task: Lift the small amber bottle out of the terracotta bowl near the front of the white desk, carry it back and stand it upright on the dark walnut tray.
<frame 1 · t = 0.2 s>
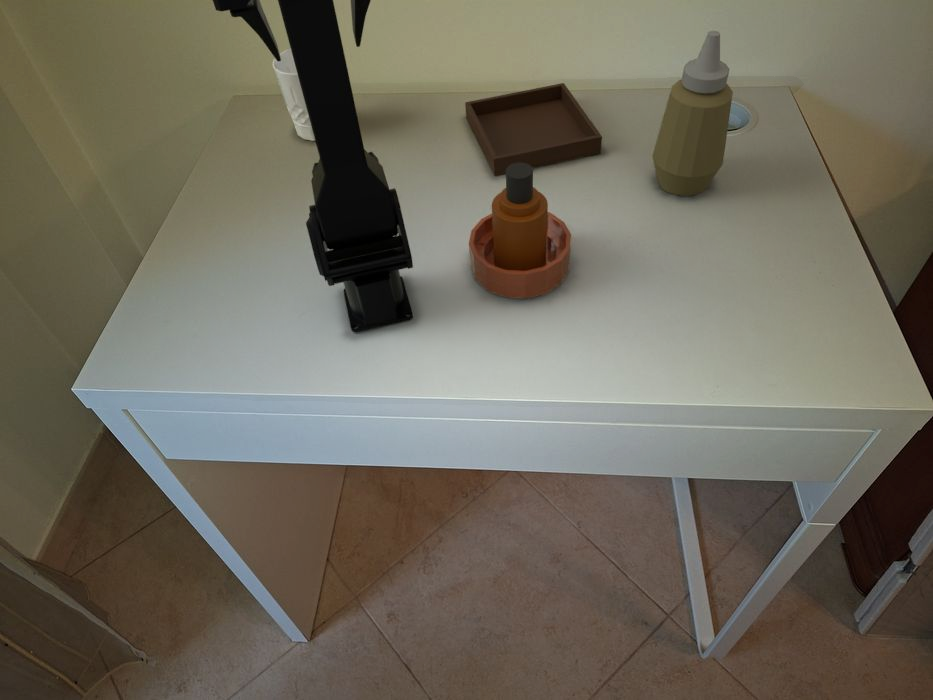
hand: (318, 52, 78), 15 cm above the table, tool pointing down, fingers open, 9 cm apart
squeeze bottle: (681, 183, 82), on the table
white cup: (321, 129, 95), on the table
bottle: (520, 263, 74), resting on bowl
tray: (530, 135, 90), on the table
bowl: (520, 266, 74), on the table
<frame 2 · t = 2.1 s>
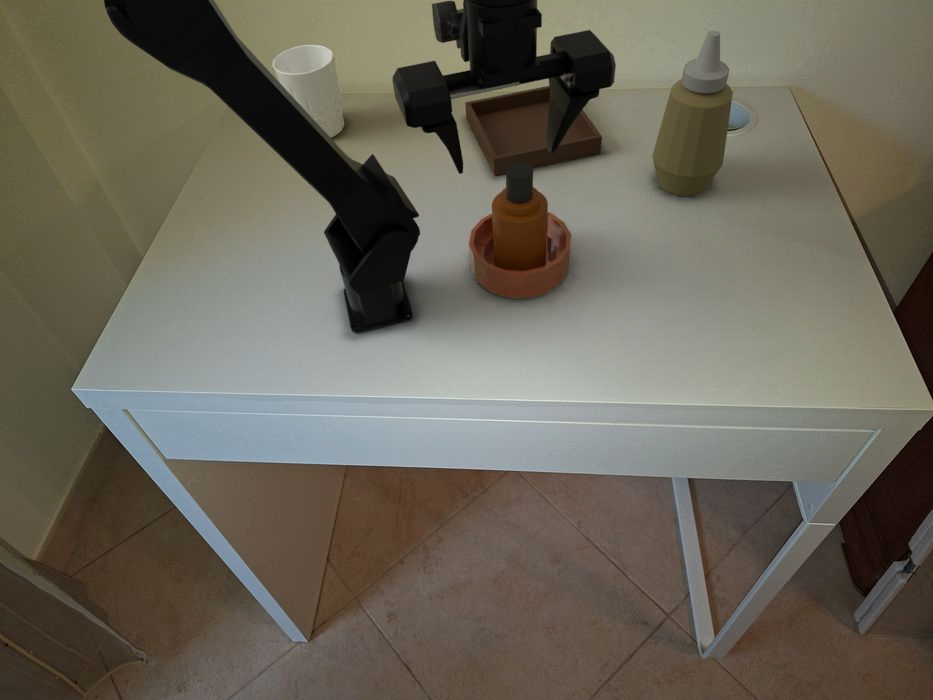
hand: (505, 161, 65), 13 cm above the table, tool pointing down, fingers open, 9 cm apart
nothing on the table moved.
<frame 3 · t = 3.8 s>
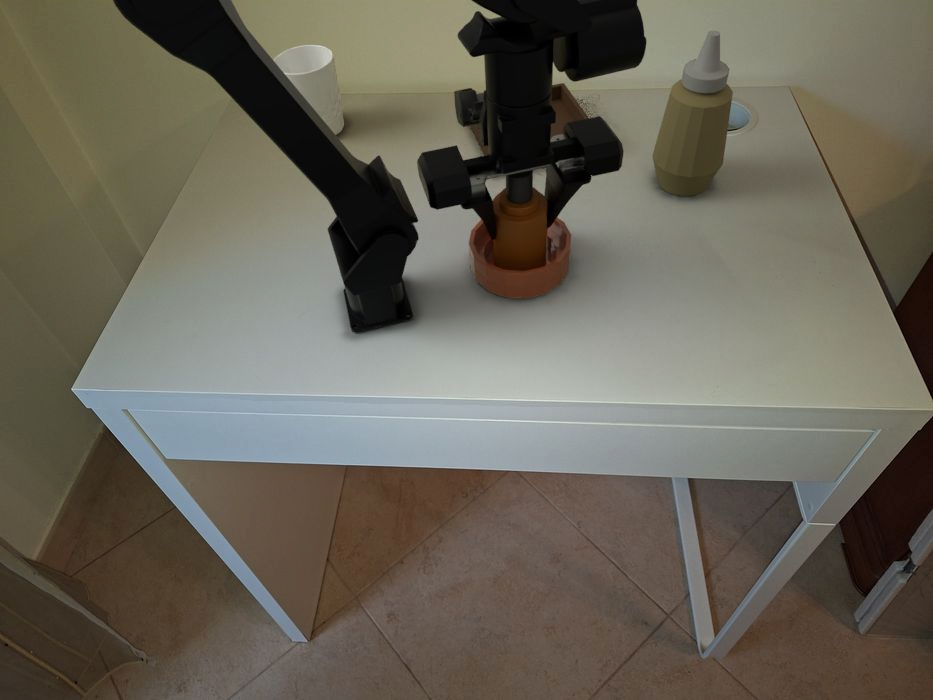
hand: (519, 231, 70), 5 cm above the table, tool pointing down, fingers closed on bottle, 5 cm apart
bottle: (519, 263, 74), point 1 cm above the table, touching bowl, gripper
everything else where it was.
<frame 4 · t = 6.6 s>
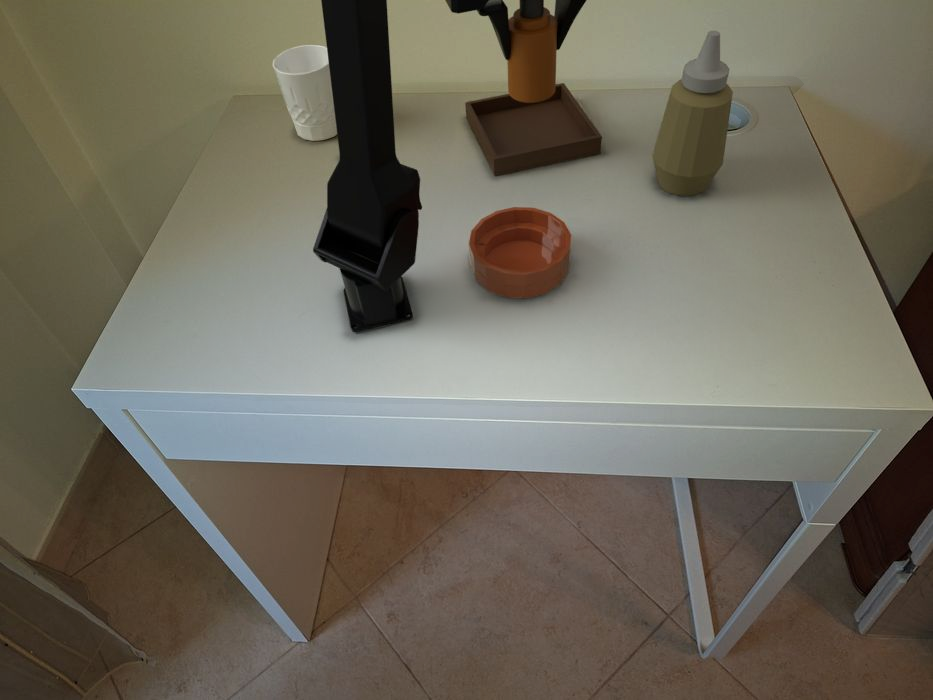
hand: (531, 53, 77), 13 cm above the table, tool pointing down, fingers closed on bottle, 5 cm apart
bottle: (531, 90, 81), point 9 cm above the table, touching gripper
everything else where it was.
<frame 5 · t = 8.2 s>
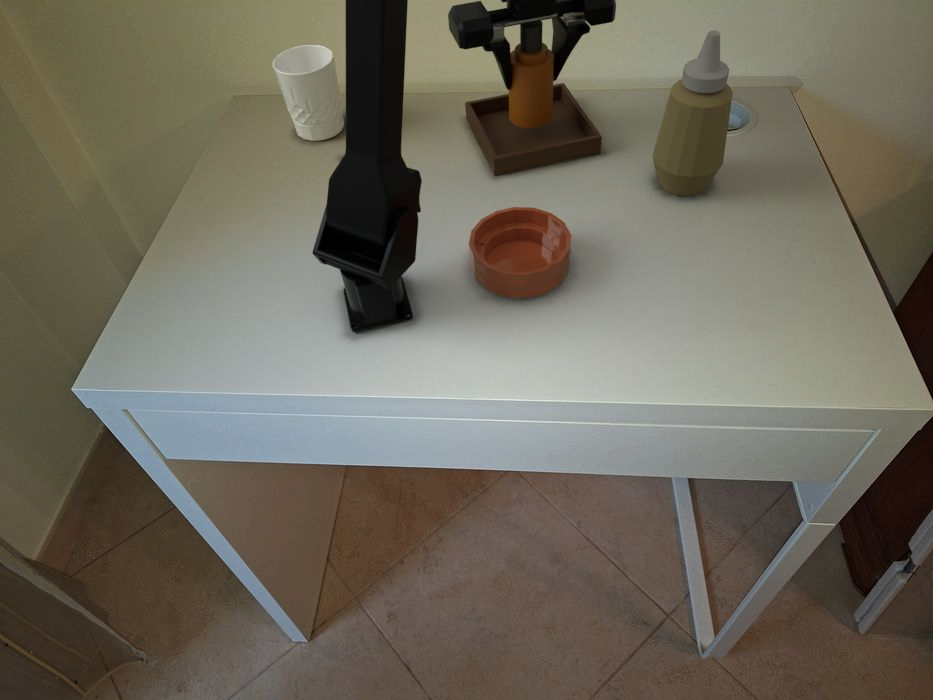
hand: (530, 83, 85), 7 cm above the table, tool pointing down, fingers closed on bottle, 5 cm apart
bottle: (530, 116, 88), point 3 cm above the table, touching gripper
everything else where it was.
when the fingers open (5 cm above the table, at t = 9.4 s): bottle stays where it is, resting on tray.
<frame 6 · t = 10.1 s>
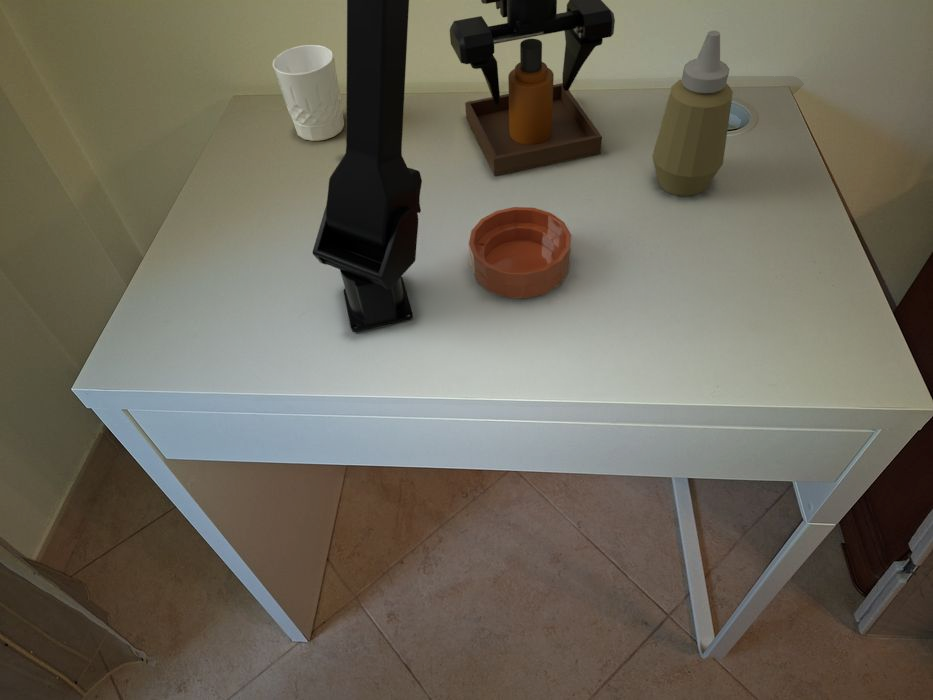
hand: (531, 96, 86), 6 cm above the table, tool pointing down, fingers open, 9 cm apart
bottle: (530, 132, 90), resting on tray
everything else where it was.
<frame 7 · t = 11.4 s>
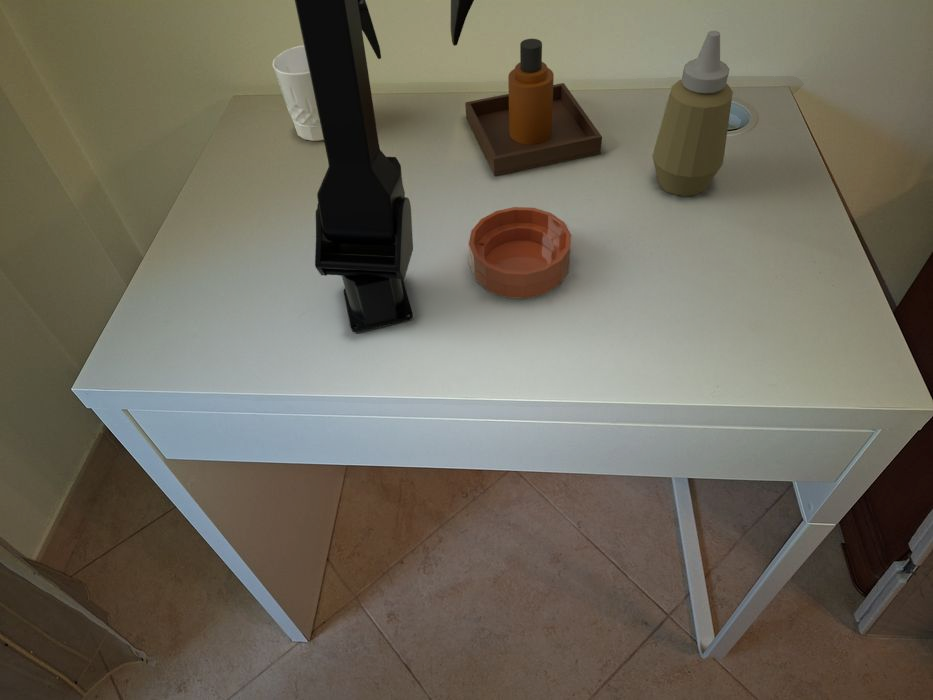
hand: (417, 50, 81), 13 cm above the table, tool pointing down, fingers open, 9 cm apart
nothing on the table moved.
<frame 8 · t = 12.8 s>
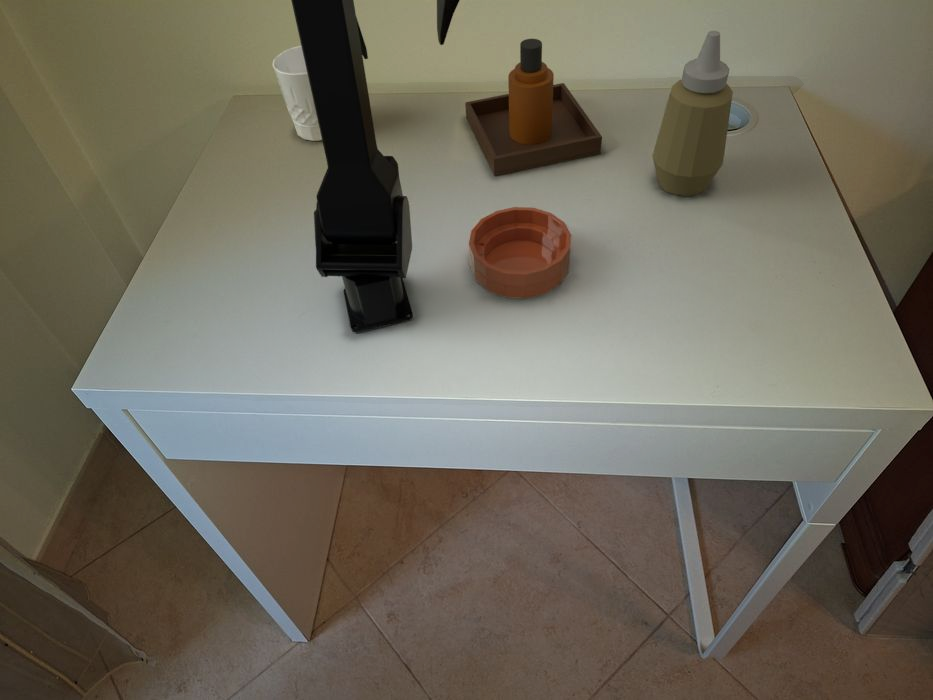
hand: (403, 50, 81), 13 cm above the table, tool pointing down, fingers open, 9 cm apart
nothing on the table moved.
at the end: bottle inside the target area in the tray (0.1 cm from its centre), point 0.5 cm above the tray's base; bottle tilted 0°; bottle touching tray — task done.
